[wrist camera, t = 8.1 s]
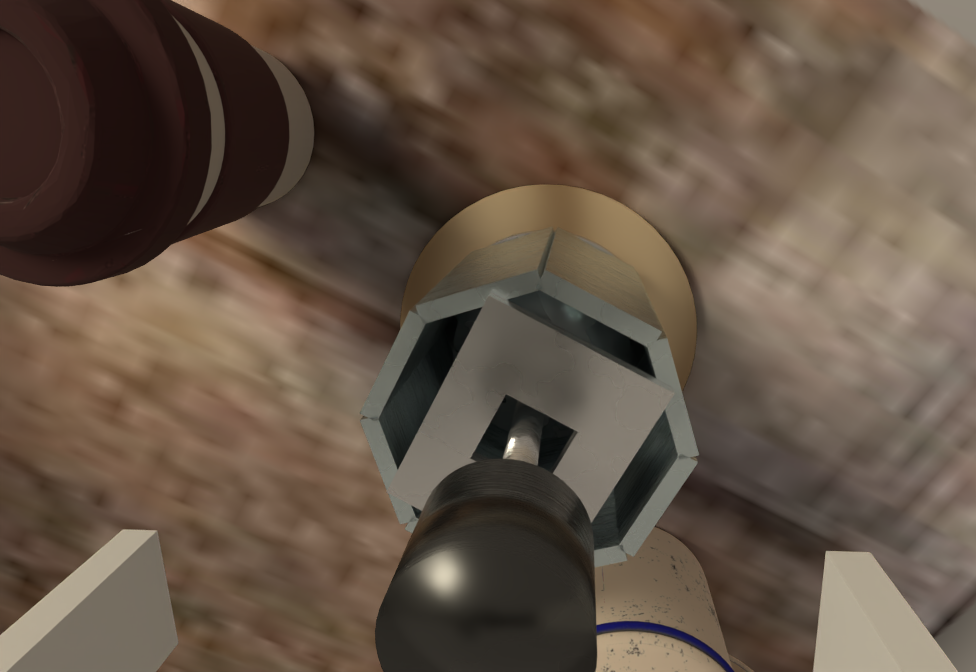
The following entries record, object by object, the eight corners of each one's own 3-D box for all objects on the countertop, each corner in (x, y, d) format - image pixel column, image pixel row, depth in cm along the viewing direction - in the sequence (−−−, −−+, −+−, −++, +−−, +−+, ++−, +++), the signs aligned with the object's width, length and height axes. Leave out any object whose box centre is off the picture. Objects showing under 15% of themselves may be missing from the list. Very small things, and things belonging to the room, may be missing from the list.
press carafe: (383, 421, 35) (281, 564, 23) (498, 190, 31) (447, 218, 19) (558, 512, 35) (546, 702, 23) (694, 294, 31) (764, 386, 19)
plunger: (428, 382, 31) (223, 697, 13) (504, 233, 29) (380, 373, 11) (575, 459, 31) (569, 876, 13) (663, 317, 29) (794, 591, 11)
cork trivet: (412, 462, 36) (410, 467, 35) (393, 188, 32) (389, 189, 31) (689, 468, 34) (690, 474, 33) (701, 178, 30) (703, 179, 30)
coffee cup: (388, 129, 31) (227, 114, 17) (256, 275, 34) (21, 368, 20) (230, -37, 30) (-84, -201, 16) (107, 127, 33) (-256, 112, 19)
